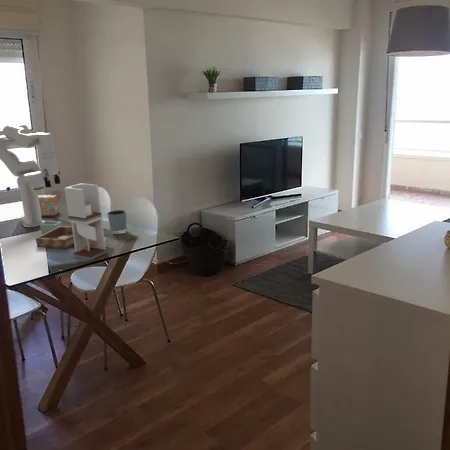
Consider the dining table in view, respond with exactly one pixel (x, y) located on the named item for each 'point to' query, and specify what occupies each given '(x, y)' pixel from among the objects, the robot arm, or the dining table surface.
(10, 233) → the dining table surface
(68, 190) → the white tiered tower
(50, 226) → the sage crate
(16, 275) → the dining table surface
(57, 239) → the oak crate
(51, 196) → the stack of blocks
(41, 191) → the coffee can
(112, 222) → the blue grey cup
